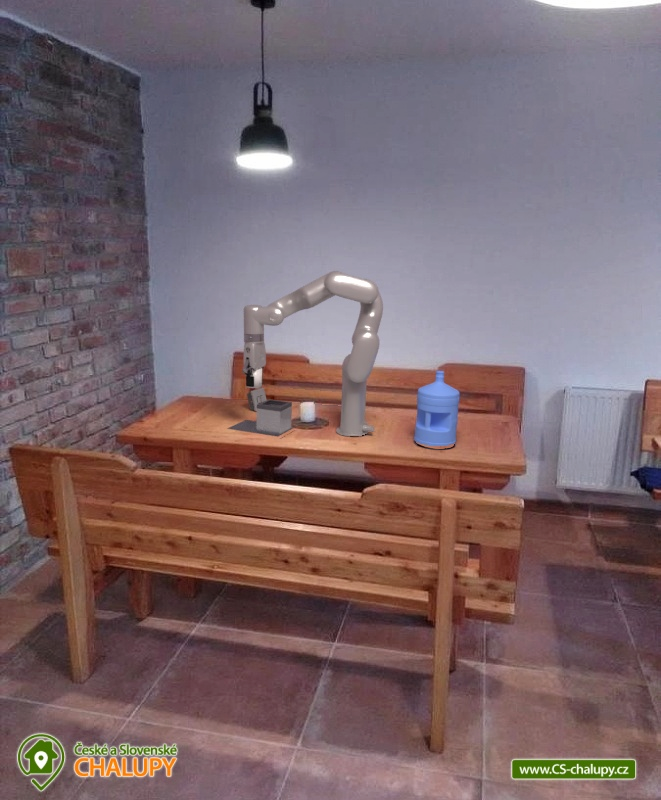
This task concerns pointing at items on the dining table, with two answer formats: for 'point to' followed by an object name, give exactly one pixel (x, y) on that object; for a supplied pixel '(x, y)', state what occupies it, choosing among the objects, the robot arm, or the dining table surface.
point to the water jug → (437, 413)
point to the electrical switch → (256, 398)
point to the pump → (257, 378)
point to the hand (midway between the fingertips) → (254, 384)
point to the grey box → (269, 419)
